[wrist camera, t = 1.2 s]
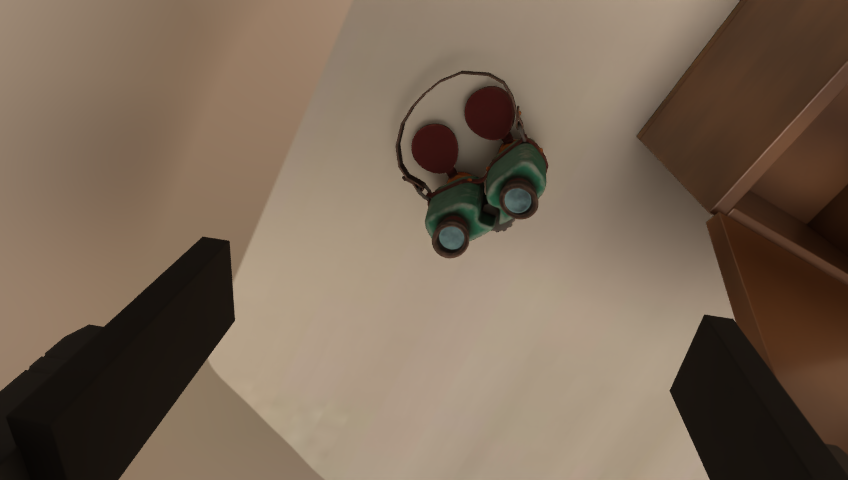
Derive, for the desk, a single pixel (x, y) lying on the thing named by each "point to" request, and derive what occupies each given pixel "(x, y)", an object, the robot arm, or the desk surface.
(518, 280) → the desk surface
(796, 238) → the chest
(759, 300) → the lid
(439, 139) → the binoculars
